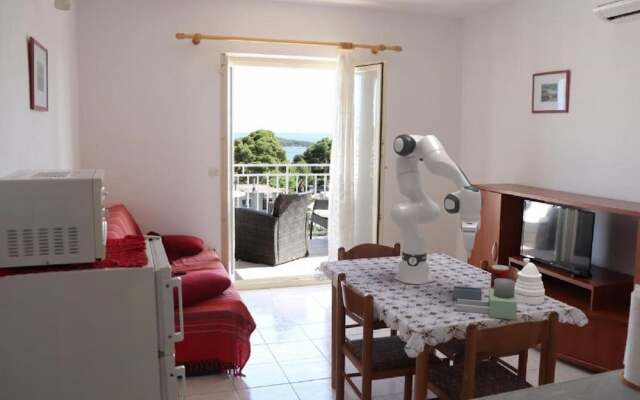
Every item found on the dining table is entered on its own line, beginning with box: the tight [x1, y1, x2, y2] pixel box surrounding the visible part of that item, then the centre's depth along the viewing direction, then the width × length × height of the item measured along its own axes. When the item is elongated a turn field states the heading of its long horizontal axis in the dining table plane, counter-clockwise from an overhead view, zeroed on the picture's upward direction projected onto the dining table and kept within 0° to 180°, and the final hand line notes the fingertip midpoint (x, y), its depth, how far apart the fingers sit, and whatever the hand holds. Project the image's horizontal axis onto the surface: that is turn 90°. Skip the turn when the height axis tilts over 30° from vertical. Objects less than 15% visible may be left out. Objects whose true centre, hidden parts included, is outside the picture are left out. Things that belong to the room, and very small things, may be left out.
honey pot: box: [514, 258, 546, 305], centre depth 243 cm, size 13×13×18 cm
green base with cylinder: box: [455, 278, 518, 320], centre depth 229 cm, size 17×23×13 cm
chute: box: [452, 285, 483, 301], centre depth 244 cm, size 5×12×5 cm, turn 74°
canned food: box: [490, 264, 510, 289], centre depth 258 cm, size 8×8×11 cm
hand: (468, 255), depth 242 cm, fingers open, 8 cm apart
